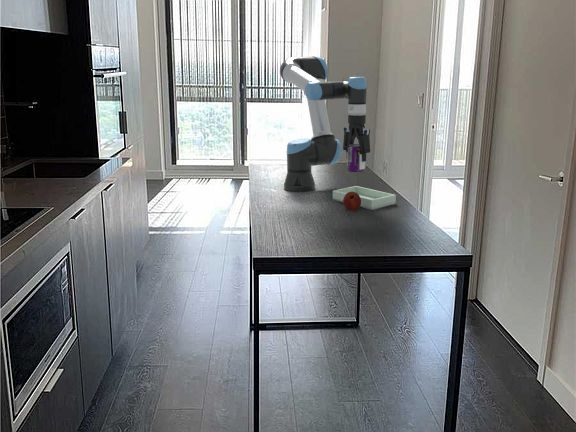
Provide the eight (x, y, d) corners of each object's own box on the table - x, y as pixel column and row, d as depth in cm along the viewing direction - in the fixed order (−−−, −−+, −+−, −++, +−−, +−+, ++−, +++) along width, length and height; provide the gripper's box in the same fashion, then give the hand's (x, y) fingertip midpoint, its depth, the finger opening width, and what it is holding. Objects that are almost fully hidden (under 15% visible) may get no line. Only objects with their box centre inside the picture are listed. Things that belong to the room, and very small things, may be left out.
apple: (340, 211, 229) (340, 192, 226) (345, 207, 235) (345, 188, 233) (358, 213, 226) (358, 194, 224) (362, 208, 233) (363, 190, 231)
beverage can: (363, 174, 241) (363, 146, 238) (346, 173, 242) (347, 146, 239) (364, 171, 247) (365, 143, 244) (348, 170, 249) (348, 143, 246)
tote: (332, 199, 249) (332, 190, 248) (356, 194, 258) (356, 185, 257) (371, 209, 231) (371, 200, 230) (395, 203, 240) (395, 194, 239)
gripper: (334, 113, 243) (334, 165, 249) (367, 116, 228) (366, 172, 234) (347, 112, 248) (346, 163, 254) (380, 115, 233) (378, 169, 239)
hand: (356, 167), depth 244 cm, fingers closed on beverage can, 7 cm apart
